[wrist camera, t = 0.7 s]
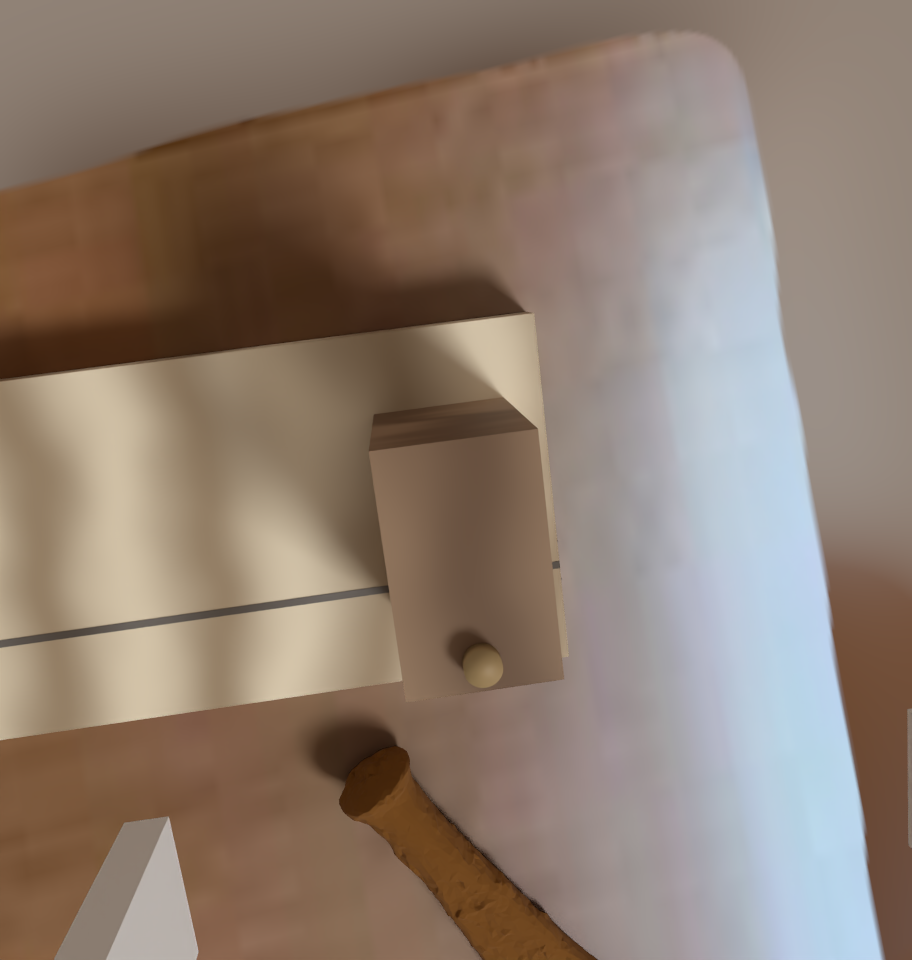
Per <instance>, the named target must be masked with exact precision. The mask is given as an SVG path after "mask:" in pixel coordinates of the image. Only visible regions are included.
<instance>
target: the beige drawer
mask: <svg viewBox="0 0 912 960" xmlns="http://www.w3.org/2000/svg"><path fill="white" fill-rule="evenodd" d="M369 458H370V464H371V471H372V478H373V485H374V491H375V498H376V505H377V512H378V518H379V525H380V532H381V539H382V545H383V552H384V559H385V566H386V572H387V579H388V586H389V593H390V599H391V606H392V613H393V620H394V627H395V633H396V640H397V647H398V654H399V660H400V667H401V674H402V681H403V687H404V694H405V701H406V703H407V702H414V701H421V700H427V699H434V698H441V697H448V696H454V695H461V694H468V693H475V692H481V691H488V690H495V689H502V688H508V687H515V686H522V685H529V684H535V683H542V682H549V681H556V680H562V679H564V673H563V664H562V654H561V644H560V635H559V625H558V616H557V606H556V596H555V587H554V577H553V567H552V558H551V548H550V539H549V529H548V519H547V510H546V500H545V490H544V481H543V471H542V462H541V452H540V442H539V433H538V428H537V427H536V426H535V425H533V424H532V423H531V422H530V421H529V420H528V419H527V418H526V417H525V416H524V415H522V414H521V413H520V412H519V411H518V410H517V409H516V408H515V407H514V406H513V405H512V404H510V403H509V402H508V401H507V400H506V399H505V398H504V397H501V398H493V399H486V400H478V401H470V402H463V403H455V404H448V405H440V406H433V407H425V408H418V409H410V410H403V411H395V412H388V413H380V414H374V416H373V423H372V431H371V438H370V445H369Z"/></svg>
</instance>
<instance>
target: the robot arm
mask: <svg viewBox="0 0 912 960" xmlns="http://www.w3.org/2000/svg"><path fill="white" fill-rule="evenodd" d="M908 845H909V846H910V847H911V848H912V709H908ZM198 952H199V951H198V947H197V942H196V938H195V933H194V929H193V924H192V920H191V915H190V911H189V906H188V902H187V897H186V893H185V888H184V884H183V879H182V874H181V870H180V865H179V861H178V856H177V852H176V847H175V843H174V838H173V834H172V829H171V825H170V820H169V817H162V818H155V819H148V820H141V821H134V822H127V823H124V824H123V826H122V828H121V830H120V832H119V834H118V836H117V838H116V840H115V842H114V844H113V846H112V848H111V850H110V851H109V853H108V855H107V857H106V859H105V861H104V863H103V865H102V867H101V869H100V871H99V873H98V875H97V877H96V879H95V881H94V883H93V884H92V886H91V888H90V890H89V892H88V894H87V896H86V898H85V900H84V902H83V904H82V906H81V908H80V910H79V912H78V914H77V916H76V917H75V919H74V921H73V923H72V925H71V927H70V929H69V931H68V933H67V935H66V937H65V939H64V941H63V943H62V945H61V947H60V949H59V950H58V952H57V954H56V956H55V958H54V960H196V958H197V955H198Z"/></svg>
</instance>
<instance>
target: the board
mask: <svg viewBox="0 0 912 960" xmlns="http://www.w3.org/2000/svg"><path fill="white" fill-rule="evenodd" d="M501 397H504V398H505V399H506V400H507V401H508V402H509V403H510V404H512V405H513V406H514V407H515V408H516V409H517V410H518V411H519V412H520V413H521V414H522V415H524V416H525V417H526V418H527V419H528V420H529V421H530V422H531V423H532V424H533V425H535V426H536V427H537V428H538V433H539V442H540V452H541V462H542V471H543V481H544V490H545V500H546V510H547V519H548V529H549V539H550V548H551V558H552V567H553V577H554V587H555V596H556V606H557V616H558V625H559V635H560V644H561V654H562V657H568V656H569V653H568V643H567V633H566V624H565V614H564V604H563V594H562V584H561V574H560V564H559V555H558V545H557V535H556V525H555V515H554V505H553V496H552V486H551V476H550V466H549V456H548V446H547V436H546V427H545V417H544V407H543V397H542V387H541V377H540V368H539V358H538V348H537V338H536V328H535V318H534V313H530V312H521V313H513V314H505V315H498V316H490V317H482V318H474V319H467V320H459V321H451V322H443V323H435V324H428V325H420V326H412V327H404V328H396V329H389V330H381V331H373V332H365V333H357V334H350V335H342V336H334V337H326V338H319V339H311V340H303V341H295V342H287V343H280V344H272V345H264V346H256V347H248V348H241V349H233V350H225V351H217V352H209V353H202V354H194V355H186V356H178V357H171V358H163V359H155V360H147V361H139V362H132V363H124V364H116V365H108V366H100V367H93V368H85V369H77V370H69V371H61V372H54V373H46V374H38V375H30V376H23V377H15V378H7V379H0V740H4V739H11V738H18V737H25V736H31V735H38V734H45V733H52V732H59V731H65V730H72V729H79V728H86V727H93V726H99V725H106V724H113V723H120V722H126V721H133V720H140V719H147V718H154V717H160V716H167V715H174V714H181V713H188V712H194V711H201V710H208V709H215V708H222V707H228V706H235V705H242V704H249V703H256V702H262V701H269V700H276V699H283V698H290V697H296V696H303V695H310V694H317V693H324V692H330V691H337V690H344V689H351V688H358V687H364V686H371V685H378V684H385V683H391V682H398V681H402V674H401V667H400V660H399V654H398V647H397V640H396V633H395V627H394V620H393V613H392V606H391V599H390V593H389V586H388V579H387V572H386V566H385V559H384V552H383V545H382V539H381V532H380V525H379V518H378V512H377V505H376V498H375V491H374V485H373V478H372V471H371V464H370V458H369V445H370V438H371V431H372V423H373V416H374V414H380V413H388V412H395V411H403V410H410V409H418V408H425V407H433V406H440V405H448V404H455V403H463V402H470V401H478V400H486V399H493V398H501Z"/></svg>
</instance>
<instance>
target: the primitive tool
mask: <svg viewBox="0 0 912 960" xmlns="http://www.w3.org/2000/svg"><path fill="white" fill-rule="evenodd" d="M409 765H410V759H409V756H408V753H407V751H406V750H404V749H403V748H400V747H397V746H393V747H388V748H384V749H381V750H379V751H378V752H376V753H375V754H374V755H373V756H371V757H368V758H365V759H364V760H362V761H361V762H360V763H359V765H358V766H356V767H355V768H354V769H352V770H351V772H350V774H349V775H348V777H347V780H346V784H345V788H344V790H343V792H342V795H341V797H340V799H339V804H340V806H341V808H342V810H343V812H344V813H345V814H346V815H347V816H348V817H350V818H351V819H353V820H354V821H360V822H362V823H365V824H368V825H370V826H371V827H372V828H373V829H374V830H375V831H376V832H377V833H378V834H380V835H381V836H382V837H383V838H385V839H386V840H387V841H388V843H389V844H390V845H391V847H392V849H393V851H394V854H395V855H396V856H397V857H398V859H399V860H400V861H401V862H403V863H404V864H405V865H406V866H407V867H408V868H409V869H411V870H412V871H413V872H414V873H415V874H416V875H417V876H418V877H419V878H421V879H422V880H423V882H424V883H425V884H426V885H427V887H428V888H429V890H430V891H432V892H433V894H434V896H435V897H436V898H437V899H438V900H439V901H440V903H441V904H442V906H443V908H444V909H445V911H446V913H447V915H448V916H450V917H451V918H452V919H453V920H454V922H455V923H456V924H457V926H458V927H459V928H460V929H461V931H462V932H463V934H464V935H465V936H466V938H467V939H468V940H469V942H470V944H471V946H472V947H474V948H475V949H476V950H477V951H478V953H479V955H480V957H481V958H482V959H483V960H597V959H596V958H595V957H593V956H592V955H590V954H589V953H588V952H587V951H585V950H584V949H583V948H582V947H581V946H580V945H578V944H577V943H576V942H574V941H573V940H572V939H571V938H570V937H568V936H567V935H566V934H565V933H564V932H563V931H562V930H561V929H560V928H559V927H558V926H557V925H556V924H555V923H554V922H553V921H552V920H551V919H550V917H549V916H548V914H547V913H543V912H542V911H539V910H538V909H537V908H536V907H535V906H533V905H532V904H531V902H530V901H529V899H528V898H527V897H526V896H524V895H523V894H522V893H521V892H520V891H519V890H518V889H517V888H516V887H515V886H514V885H513V883H512V882H511V881H509V880H508V879H507V878H506V877H505V876H504V875H503V873H502V872H500V871H499V870H498V869H497V868H496V867H495V866H494V865H493V864H492V863H491V862H490V861H489V860H487V859H486V858H485V857H484V856H483V855H482V854H481V853H480V852H479V851H478V850H477V849H476V848H474V847H473V845H472V844H471V843H470V842H469V841H467V840H466V838H465V837H464V836H463V835H462V834H461V833H460V832H459V831H458V830H457V829H456V827H455V825H454V824H452V823H450V822H448V821H447V819H446V818H445V817H444V816H443V815H442V814H441V812H440V811H439V810H438V808H437V807H436V806H435V804H433V803H432V802H431V801H430V799H429V798H428V797H427V795H426V794H425V793H424V792H423V790H422V789H421V788H420V786H419V784H418V783H417V782H416V781H415V780H414V779H413V778H412V775H411V771H410V766H409Z"/></svg>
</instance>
